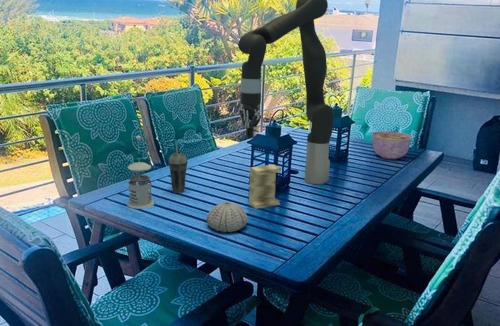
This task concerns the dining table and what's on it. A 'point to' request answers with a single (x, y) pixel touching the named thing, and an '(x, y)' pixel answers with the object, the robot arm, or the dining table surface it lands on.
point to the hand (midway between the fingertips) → (249, 137)
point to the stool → (263, 186)
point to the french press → (139, 186)
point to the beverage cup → (178, 171)
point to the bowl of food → (391, 144)
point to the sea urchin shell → (227, 217)
